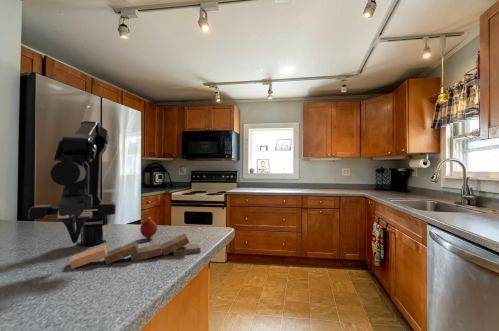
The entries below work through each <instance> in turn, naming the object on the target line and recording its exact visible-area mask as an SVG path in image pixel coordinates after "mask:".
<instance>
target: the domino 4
mask: <svg viewBox="0 0 499 331" xmlns="http://www.w3.org/2000/svg"><path fill="white" fill-rule="evenodd" d="M201 249H202V248H201V246H200V245H199V244H198V243H189V244H187V245H185V246H183V247H180V248H178V249H176V250H174V251H172V252H171V253H172V255H173V256H174V257H175V256H182V255H190V254H192V255H193V254H198V253H201Z"/></svg>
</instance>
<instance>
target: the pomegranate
mask: <svg viewBox="0 0 499 331" xmlns="http://www.w3.org/2000/svg"><path fill="white" fill-rule="evenodd" d="M139 230H140V234H141V235H142V236H143V237H144V238H145V239H148V240H150V239H151V238H152V237H153V236H154V235H155V234H156V233H157V231H158V226H157V223H156V222H155V221H154V220H153V219H152V217H151V216H148V217H147V219H146V220H144V221H143V222H142V223H141V225H140V228H139Z"/></svg>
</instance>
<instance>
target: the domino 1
mask: <svg viewBox="0 0 499 331" xmlns="http://www.w3.org/2000/svg"><path fill="white" fill-rule="evenodd" d="M138 248H139V245H138V242H137V241H136V240H135V241H132V242H130V243H128V244H125V245H122V246H120V247H117V248H114V249H111V250H109V251H107V257H104V258H103V259H104V261H105V264H106V265H110V264H112V263H114V262H116V261H119V260H121V259H124V258H127V257H129V256H130V257H131V255H132V254H135V253H137V252H138Z"/></svg>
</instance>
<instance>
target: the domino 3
mask: <svg viewBox="0 0 499 331" xmlns="http://www.w3.org/2000/svg"><path fill="white" fill-rule="evenodd" d="M189 244H190V240H189V239H188V236H187V235H186V233H182V234H180V235H178V236H176V237H174V238H172V239H170V240H168V241H166V242H164V243H160V246H161V252H162V254H163V256H166V255H169V254H170V253H172V251H174V250H176V249H178V248H180V247H183V246H185V245H189Z"/></svg>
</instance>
